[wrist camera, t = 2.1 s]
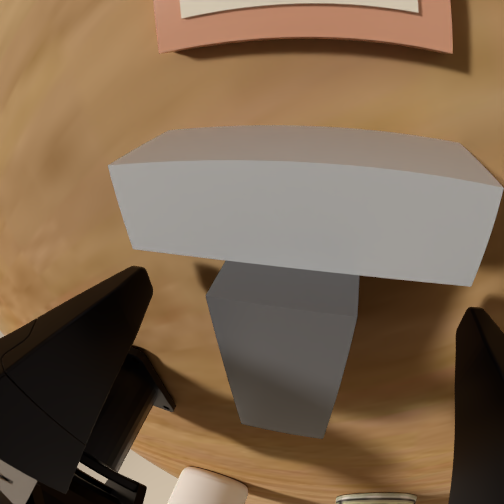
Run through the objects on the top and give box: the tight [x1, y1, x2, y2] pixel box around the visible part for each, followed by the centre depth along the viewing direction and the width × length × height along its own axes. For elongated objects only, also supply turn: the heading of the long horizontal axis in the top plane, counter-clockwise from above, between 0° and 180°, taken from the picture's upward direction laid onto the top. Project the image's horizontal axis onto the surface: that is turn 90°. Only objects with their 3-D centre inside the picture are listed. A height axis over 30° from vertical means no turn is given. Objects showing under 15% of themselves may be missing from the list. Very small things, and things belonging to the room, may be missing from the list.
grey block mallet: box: [108, 125, 504, 439], centre depth 7 cm, size 8×7×4 cm
